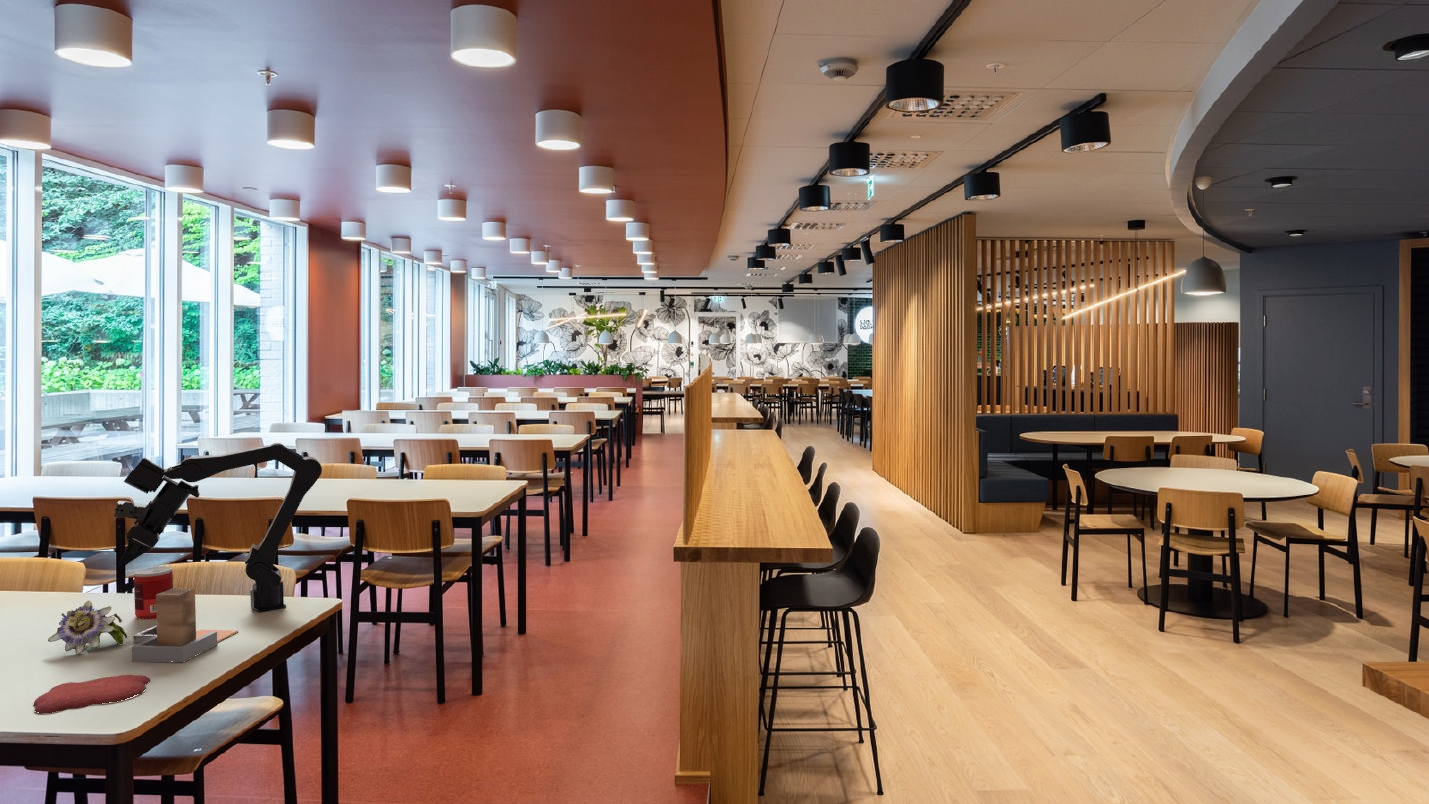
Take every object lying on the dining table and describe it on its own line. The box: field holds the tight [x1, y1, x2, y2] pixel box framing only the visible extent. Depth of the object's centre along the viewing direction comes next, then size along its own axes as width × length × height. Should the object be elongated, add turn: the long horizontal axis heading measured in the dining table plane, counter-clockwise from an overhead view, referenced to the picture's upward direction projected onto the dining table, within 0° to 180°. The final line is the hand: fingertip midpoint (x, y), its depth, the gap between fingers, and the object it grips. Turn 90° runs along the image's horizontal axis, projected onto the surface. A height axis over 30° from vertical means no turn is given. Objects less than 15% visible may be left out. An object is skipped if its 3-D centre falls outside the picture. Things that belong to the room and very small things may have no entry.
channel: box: [131, 632, 218, 663], centre depth 184 cm, size 11×11×3 cm
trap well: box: [132, 624, 157, 643], centre depth 194 cm, size 8×8×2 cm
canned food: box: [133, 566, 174, 620], centre depth 211 cm, size 8×8×11 cm
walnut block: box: [156, 587, 197, 647], centre depth 184 cm, size 5×5×13 cm
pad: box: [196, 629, 239, 644], centre depth 194 cm, size 9×9×1 cm
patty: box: [33, 674, 151, 714], centre depth 161 cm, size 18×14×2 cm
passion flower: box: [47, 600, 128, 656], centre depth 187 cm, size 11×11×12 cm
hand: (123, 561), depth 203 cm, fingers open, 9 cm apart
